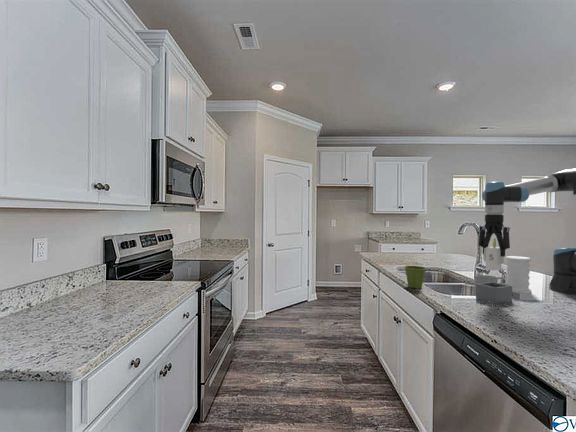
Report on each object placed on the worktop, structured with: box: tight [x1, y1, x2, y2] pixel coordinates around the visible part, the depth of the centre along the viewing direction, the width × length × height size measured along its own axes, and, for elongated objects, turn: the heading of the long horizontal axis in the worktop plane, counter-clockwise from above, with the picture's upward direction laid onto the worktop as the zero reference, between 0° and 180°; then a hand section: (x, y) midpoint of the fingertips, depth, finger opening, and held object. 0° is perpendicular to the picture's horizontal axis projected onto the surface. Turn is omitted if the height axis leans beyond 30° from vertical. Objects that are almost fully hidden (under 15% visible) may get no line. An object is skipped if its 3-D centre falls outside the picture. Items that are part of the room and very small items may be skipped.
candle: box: [485, 238, 502, 271], centre depth 154 cm, size 6×6×15 cm
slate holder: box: [475, 282, 513, 304], centre depth 154 cm, size 11×10×7 cm
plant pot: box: [404, 265, 427, 290], centre depth 181 cm, size 12×12×11 cm
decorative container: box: [505, 255, 532, 295], centre depth 171 cm, size 12×12×18 cm
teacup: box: [473, 274, 505, 287], centre depth 172 cm, size 14×11×8 cm
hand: (493, 262), depth 154 cm, fingers closed on candle, 6 cm apart
